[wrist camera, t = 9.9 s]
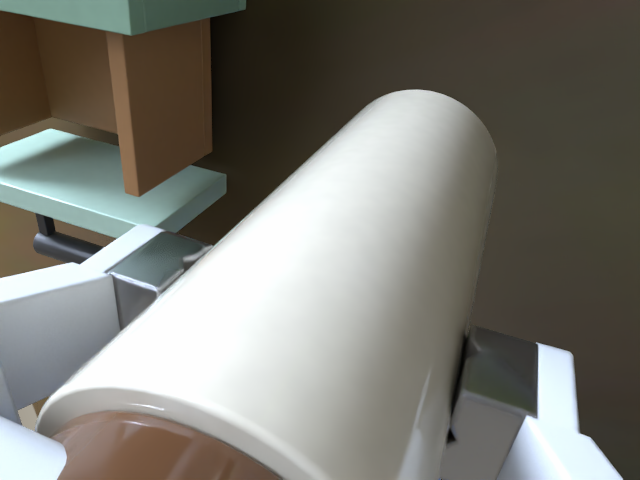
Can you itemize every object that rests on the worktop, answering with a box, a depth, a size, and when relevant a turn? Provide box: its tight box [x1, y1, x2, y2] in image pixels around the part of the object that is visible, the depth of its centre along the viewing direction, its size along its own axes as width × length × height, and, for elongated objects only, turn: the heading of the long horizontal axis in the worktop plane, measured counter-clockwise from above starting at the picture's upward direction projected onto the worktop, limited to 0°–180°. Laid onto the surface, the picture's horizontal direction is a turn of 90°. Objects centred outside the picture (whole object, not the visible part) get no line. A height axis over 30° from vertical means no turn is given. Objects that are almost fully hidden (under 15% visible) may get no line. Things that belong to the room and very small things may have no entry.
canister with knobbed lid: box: [35, 90, 498, 480], centre depth 9 cm, size 5×5×14 cm
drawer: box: [0, 11, 226, 265], centre depth 26 cm, size 18×12×7 cm
